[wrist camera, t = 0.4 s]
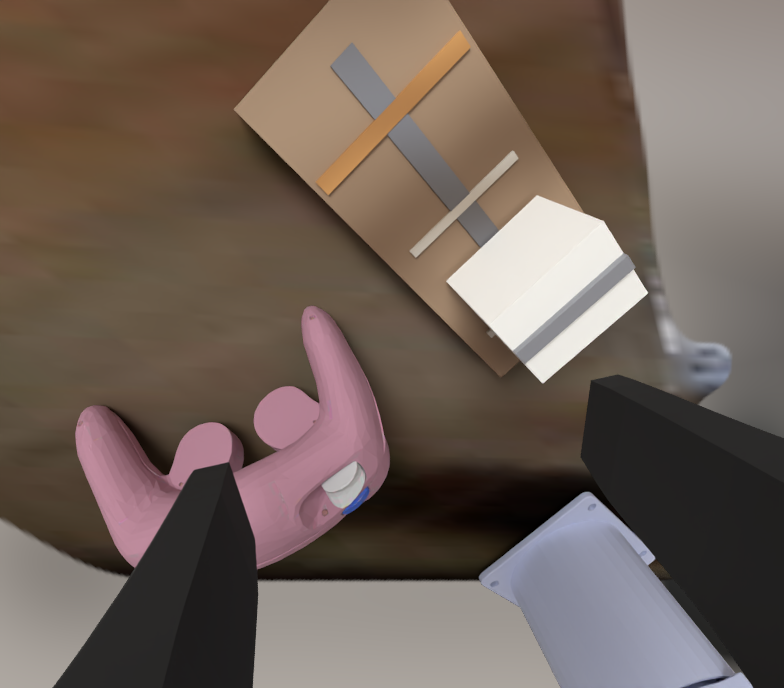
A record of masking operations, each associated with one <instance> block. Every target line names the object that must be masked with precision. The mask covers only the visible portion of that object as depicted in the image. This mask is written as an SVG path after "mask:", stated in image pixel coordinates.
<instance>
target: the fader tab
mask: <svg viewBox="0 0 784 688" xmlns="http://www.w3.org/2000/svg"><path fill="white" fill-rule="evenodd" d="M634 268H636V267H635V266H634V264H633V263H632V261H631V259H630V258H629V256H628V255H626V254H624V253H623V252H622V250H621V249H620V247H619V245H618V244H617V242H616V240H615V239H614V237H613V236H612V234H611V232H610V231H609V229H608V228H607V226H606V224H605V223H604V221H602V220H599V219H597V218H594V217H591V216H589V215H586V214H584V213H581V212H579V211H576V210H574V209H571V208H568V207H566V206H563V205H561V204H558V203H556V202H553V201H550V200H548V199H545V198H543V197H540V196H538V195H537V196H536V197H535V198H534V199H532V200H531V201H530V202H529V203H528V204H527V205H526V206H525V207H524V208H523V209H522V210H521V211H520V212H519V213H518V214H517V215H515V216H514V217H513V218H512V219H511V220H510V221H509V222H508V223H507V224H506V225H505V226H504V227H503V228H502V229H501V230H500V231H499V232H497V233H496V234H495V235H494V236H493V237H492V238H491V239H490V240H489V241H488V242H487V243H486V244H485V245H484V246H483V247H482V248H481V249H479V250H478V251H477V252H476V253H475V254H474V255H473V256H472V257H471V258H470V259H469V260H468V261H467V262H466V263H465V264H464V265H462V266H461V267H460V268H459V269H458V270H457V271H456V272H455V273H454V274H453V275H452V276H451V277H450V278H449V279H448V280H447V281H446V282H447V283H448V284H449V285H450V286H451V287H452V288H453V289H454V290H455V291H456V292H457V293H458V295H459V296H460V297H461V298H462V299H463V300H464V301H465V302H466V303H467V304H468V305H469V306H470V307H471V309H472V310H473V311H474V312H475V313H476V314H477V315H478V316H479V317H480V318H481V319H482V320H483V321H484V323H485V324H486V325H487V326H488V327H489V328H490V329H491V330H492V331H493V332H494V333H495V334H496V335H497V336H498V337H499V339H500V340H501V341H502V342H503V343H504V344H505V345H506V346H507V347H508V348H509V349H510V350H511V351H512V352H513V353H514V354H515V355H516V356H517V357H518V358H519V359H520V360H521V362H522V363H523V364H524V365H525V366H526V367H527V368H528V369H529V370H530V371H531V372H532V373H533V374H534V375H535V376H536V377H537V378H538V379H539V380H540V381H541V382H542V383H544V382H545V381H546V380H548V379H549V378H550V377H551V376H552V375H553V374H555V373H556V372H557V371H558V370H559V369H560V368H561V367H563V366H564V365H565V364H566V363H567V362H568V361H570V360H571V359H572V358H573V357H574V356H575V355H577V354H578V353H579V352H580V351H581V350H582V349H584V348H585V347H586V346H587V345H588V344H589V343H591V342H592V341H593V340H594V339H595V338H596V337H598V336H599V335H600V334H601V333H602V332H603V331H605V330H606V329H607V328H608V327H609V326H610V325H612V324H613V323H614V322H615V321H616V320H617V319H619V318H620V317H621V316H622V315H623V314H624V313H626V312H627V311H628V310H629V309H630V308H631V307H633V306H634V305H635V304H636V303H637V302H638V301H640V300H641V299H642V298H643V297H644V296H645V295H647V294H648V292H647V291H646V289H645V288H644V286H643V284H642V283H641V281H640V279H639V278H638V276H637V275H636V273H635V271H634V270H633V269H634Z"/></svg>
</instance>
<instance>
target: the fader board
mask: <svg viewBox="0 0 784 688" xmlns="http://www.w3.org/2000/svg"><path fill="white" fill-rule="evenodd" d="M234 110H235V111H236V112H237V113H238V114H239V115H240V116H241V117H242V118H243V119H244V120H245V121H246V122H247V123H248V124H249V125H250V126H251V127H252V128H253V129H254V130H255V131H256V132H257V133H258V134H259V135H260V137H261V138H262V139H263V140H264V141H265V142H266V143H267V144H268V145H269V146H270V147H271V148H272V149H273V150H274V151H275V152H276V153H277V154H278V155H279V156H280V157H281V158H282V159H283V160H284V161H285V162H286V163H287V164H288V165H289V166H290V167H291V168H292V169H293V170H294V171H295V172H296V173H297V174H298V175H299V176H300V177H301V178H302V179H303V180H304V181H305V182H306V183H307V184H308V185H309V186H310V187H311V188H312V189H313V190H314V191H315V192H316V193H317V194H318V195H319V196H320V197H321V198H322V199H323V200H324V201H325V202H326V203H327V204H328V205H329V206H330V207H331V208H332V209H333V210H334V211H335V212H336V213H337V214H338V215H339V216H340V217H341V218H342V219H343V220H344V221H345V222H346V223H347V224H348V225H349V226H350V227H351V228H352V229H353V230H354V231H355V232H356V233H357V234H358V235H359V236H360V237H361V238H362V239H363V240H364V241H365V242H366V243H367V244H368V245H369V246H370V247H371V248H372V249H373V250H374V251H375V252H376V253H377V254H378V255H379V256H380V257H381V258H382V259H383V260H384V261H385V262H386V263H387V264H388V265H389V266H390V267H391V268H392V269H393V270H394V271H395V272H396V273H397V274H398V275H399V276H400V277H401V278H402V279H403V280H404V281H405V282H406V283H407V284H408V285H409V286H410V287H411V288H412V289H413V290H414V291H415V292H416V293H417V294H418V295H419V296H420V297H421V298H422V299H423V300H424V301H425V302H426V303H427V304H428V305H429V306H430V307H431V308H432V309H433V310H434V311H435V312H436V313H437V314H438V315H439V316H440V317H441V318H442V319H443V320H444V321H445V322H446V323H447V324H448V325H449V326H450V327H451V328H452V329H453V330H454V331H455V332H456V333H457V334H458V335H459V336H460V337H461V338H462V339H463V340H464V341H465V342H466V343H467V344H468V345H469V346H470V347H471V348H472V349H473V350H474V351H475V352H476V353H477V354H478V355H479V356H480V357H481V358H482V359H483V360H484V361H485V362H486V363H487V364H488V365H489V366H490V367H491V368H492V369H493V370H494V371H495V372H496V373H497V374H498V375H499V376H500V377H502V376H503V375H504V374H506V373H507V372H508V371H509V370H510V369H511V368H512V367H514V366H515V365H516V364H517V363H518V362H519V361H520V359H519V358H518V357H517V356H516V355H515V354H514V353H513V352H512V351H511V350H510V349H509V348H508V347H507V346H506V345H505V344H504V343H503V342H502V341H501V340H500V339H499V337H498V336H497V335H496V334H495V333H494V332H493V331H492V330H491V329H490V328H489V327H488V326H487V325H486V324H485V323H484V321H483V320H482V319H481V318H480V317H479V316H478V315H477V314H476V313H475V312H474V311H473V310H472V309H471V307H470V306H469V305H468V304H467V303H466V302H465V301H464V300H463V299H462V298H461V297H460V296H459V295H458V293H457V292H456V291H455V290H454V289H453V288H452V287H451V286H450V285H449V284H448V283H447V282H446V281H447V280H448V279H449V278H450V277H451V276H452V275H453V274H454V273H455V272H456V271H457V270H458V269H459V268H460V267H461V266H462V265H464V264H465V263H466V262H467V261H468V260H469V259H470V258H471V257H472V256H473V255H474V254H475V253H476V252H477V251H478V250H479V249H481V248H482V247H483V246H484V245H485V244H486V243H487V242H488V241H489V240H490V239H491V238H492V237H493V236H494V235H495V234H496V233H497V232H499V231H500V230H501V229H502V228H503V227H504V226H505V225H506V224H507V223H508V222H509V221H510V220H511V219H512V218H513V217H514V216H515V215H517V214H518V213H519V212H520V211H521V210H522V209H523V208H524V207H525V206H526V205H527V204H528V203H529V202H530V201H531V200H532V199H534V198H535V197H536V196H537V195H538V196H540V197H543V198H545V199H548V200H550V201H553V202H556V203H558V204H561V205H563V206H566V207H568V208H571V209H574V210H576V211H579V212H581V213H584V212H583V211H582V209H581V208H580V206H579V204H578V203H577V201H576V200H575V198H574V197H573V195H572V193H571V192H570V190H569V189H568V187H567V186H566V184H565V183H564V181H563V179H562V178H561V176H560V175H559V173H558V172H557V170H556V168H555V167H554V165H553V164H552V162H551V161H550V159H549V157H548V156H547V154H546V153H545V151H544V150H543V148H542V146H541V145H540V143H539V142H538V140H537V139H536V137H535V135H534V134H533V132H532V131H531V129H530V128H529V126H528V124H527V123H526V121H525V120H524V118H523V117H522V115H521V113H520V112H519V110H518V109H517V107H516V106H515V104H514V102H513V101H512V99H511V98H510V96H509V95H508V93H507V92H506V90H505V88H504V87H503V85H502V84H501V82H500V81H499V79H498V77H497V76H496V74H495V73H494V71H493V70H492V68H491V66H490V65H489V63H488V62H487V60H486V59H485V57H484V55H483V54H482V52H481V51H480V49H479V48H478V46H477V44H476V43H475V41H474V40H473V38H472V37H471V35H470V33H469V32H468V30H467V29H466V27H465V26H464V24H463V22H462V21H461V19H460V18H459V16H458V15H457V13H456V11H455V10H454V8H453V7H452V5H451V4H450V2H449V1H448V0H330V1H329V2H328V3H327V4H326V5H325V6H324V8H323V9H322V10H321V11H320V12H319V13H318V14H317V15H316V17H315V18H314V19H313V20H312V21H311V22H310V23H309V25H308V26H307V27H306V28H305V29H304V30H303V31H302V32H301V34H300V35H299V36H298V37H297V38H296V39H295V40H294V42H293V43H292V44H291V45H290V46H289V47H288V48H287V49H286V51H285V52H284V53H283V54H282V55H281V56H280V57H279V59H278V60H277V61H276V62H275V63H274V64H273V65H272V66H271V68H270V69H269V70H268V71H267V72H266V73H265V74H264V76H263V77H262V78H261V79H260V80H259V81H258V82H257V83H256V85H255V86H254V87H253V88H252V89H251V90H250V91H249V93H248V94H247V95H246V96H245V97H244V98H243V99H242V101H241V102H240V103H239V104H238V105H237V106H236V107H235V108H234Z"/></svg>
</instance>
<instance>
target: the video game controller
mask: <svg viewBox="0 0 784 688" xmlns="http://www.w3.org/2000/svg"><path fill="white" fill-rule="evenodd" d="M301 327H302V335H303V343H304V347H305V350H306V353H307V356H308V359H309V362H310V365H311V368H312V371H313V374H314V377H315V380H316V384H317V390H318V395H319V403H318V402H316V401H314V400H313V399H311V398H310V397H309V396H307V395H306V394H305V393H304V392H303V391H301V390H300V389H298V388H296V387H292V386H286V387H281V388H278V389H276V390H274V391H272V392H271V393H269V394H268V395H267V396H266V397H265V398H264V399H263V400H262V401H261V402H260V403H259V405H258V407H257V409H256V411H255V415H254V426H255V430H256V432H257V434H258V436H259V437H260V438H261V439H262V440H263V441H264V442H265V443H266V444H268V445H269V446H271V447H272V448H273V449H275V450H276V451H277V452H276V453H274V454H272V455H269V456H267V457H265V458H263V459H261V460H259V461H257V462H255V463H253V464H251V465H249V466H246V467H244V468H242V465H243V461H244V449H243V445H242V443H241V441H240V439H239V438H238V437H237V436H236V435H235V434H234V433H233V432H231V431H230V429H228V428H227V427H225V426H223V425H222V424H220V423H214V422H209V423H204V424H201V425H198V426H196V427H194V428H193V429H191V430H190V431H188V433H187V434H186V435H185V436H184V437H183V439H182V440H181V441H180V444H179V446H178V449H177V451H176V455H175V459H174V462H173V465H172V468H171V470H170V473H169V474H168V475H164V474H162V473H161V472H160V471H159V470H158V469H157V468H156V467H155V466H154V465H153V464H152V463H151V462H150V461H149V459H148V457H147V456H146V454H145V452H144V451H143V449H142V447H141V446H140V444H139V443H138V441H137V439H136V438H135V436H134V434H133V433H132V432H131V431H130V429H129V428H128V427H127V426H126V425H125V423H124V422H123V421H122V420H121V419H120V418H119V417H118V416H117V415H116V414H115V413H114V412H112V411H110V410H109V408H108V407H105V406H99V405H94V406H90V407H88V408H86V409H85V410H84V411H83V412H82V413H81V415H80V417H79V420H78V423H77V427H76V432H75V435H76V446H77V453H78V457H79V459H80V462H81V464H82V467H83V470H84V472H85V475H86V477H87V480H88V482H89V484H90V486H91V489H92V491H93V493H94V496H95V498H96V500H97V503H98V505H99V508H100V510H101V512H102V515H103V517H104V520H105V522H106V524H107V527H108V529H109V532H110V534H111V536H112V538H113V541H114V543H115V545H116V547H117V548H118V550H119V552H120V553H121V554H122V556H123V557H124V558H125V559H126V560H127V561H128V563H130V564H131V565H132V566H133V567H136V566H137V564H138V562H139V561H140V559H141V558H142V556H143V554H144V553H145V551H146V550H147V548H148V546H149V545H150V543H151V541H152V540H153V538H154V536H155V535H156V533H157V531H158V530H159V528H160V526H161V525H162V523H163V521H164V520H165V518H166V516H167V514H168V513H169V511H170V509H171V507H172V506H173V504H174V502H175V500H176V499H177V497H178V495H179V493H180V492H181V490H182V488H183V486H184V485H185V483H186V481H187V479H188V478H189V476H190V475H191V473H192V472H193V471H194V470H196V469H200V468H204V467H209V466H213V465H218V464H222V463H227V462H229V463H230V466H231V469H232V472H233V475H234V478H235V481H236V484H237V487H238V490H239V493H240V496H241V499H242V502H243V504H244V507H245V510H246V513H247V516H248V519H249V522H250V525H251V528H252V531H253V534H254V537H255V544H256V561H257V569H260V568H262V567H265V566H267V565H270V564H272V563H274V562H277V561H279V560H281V559H283V558H285V557H287V556H289V555H290V554H292V553H294V552H296V551H298V550H300V549H301V548H303V547H305V546H306V545H308V544H309V543H311V542H312V541H314V540H316V539H317V538H319V537H320V536H321V535H323V534H324V533H325V532H327V531H328V530H329V529H331V528H332V527H334V526H335V525H336V524H337V523H338V522H339V521H340V520H341V519H343V518H344V517H345V516H346V515H347V514H348V513H350V512H352V511H354V510H355V509H357V508H358V507H359V506H360V505H361V504H362V503H363V502H365V501H366V500H368V499H369V498H371V497H372V496H373V495H374V494H375V493H376V492H377V491H378V489H379V488H380V487H381V485H382V484H383V482H384V480H385V478H386V476H387V473H388V470H389V466H390V454H389V447H388V444H387V441H386V438H385V436H384V432H383V427H382V423H381V418H380V414H379V411H378V407H377V404H376V401H375V398H374V395H373V393H372V390H371V388H370V385H369V382H368V380H367V378H366V376H365V374H364V372H363V370H362V368H361V366H360V364H359V363H358V361H357V359H356V357H355V355H354V354H353V352H352V350H351V348H350V346H349V345H348V343H347V341H346V339H345V338H344V336H343V334H342V332H341V330H340V329H339V327H338V326H337V324H336V323H335V321H334V320H333V319H332V318H331V317H330V315H328V314H327V313H326V312H325V311H323V310H322V309H320V308H318V307H316V306H309V307H307V308H306V309H304V312H303V315H302V322H301Z"/></svg>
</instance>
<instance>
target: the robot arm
mask: <svg viewBox="0 0 784 688" xmlns="http://www.w3.org/2000/svg"><path fill="white" fill-rule="evenodd" d="M581 458H582V460H583V462H584V463H585V465H586V467H587V468H588V470H589V471H590V473H591V475H592V476H593V478H594V480H595V481H596V483H597V484H598V486H599V487H600V489H601V490H602V492H603V493H604V495H605V496H606V498H607V499H608V501H609V502H610V503H611V504H612V506H613V507H614V508H615V509H616V511H617V512H618V513H619V514H620V515H621V517H622V518H623V519H624V520H625V522H626V523H627V524H628V525H629V526H630V528H631V529H632V530H633V531H634V533H635V534H636V535H637V536H638V537H639V538H638V537H637V536H636V535H635V534H634V533H633V532H632V531H631V530H630V529H629V528H628V527H627V526H626V525H625V524H624V523H623V522H622V521H620V520H619V519H618V518H617V517H616V516H615V515H614V514H613V513H612V512H611V511H610V510H609V509H608V508H607V507H606V506H605V505H604V504H603V503H601V502H600V501H599V500H598V499H597V498H596V497H595V496H594V495H593V494H592V493H590V492H584V493H582V494H580V495H579V496H577V497H576V498H575V499H574V500H572V501H571V502H570V503H569V504H567V505H566V506H565V507H564V508H562V509H561V510H560V511H559V512H557V513H556V514H555V515H553V516H552V517H551V518H550V519H548V520H547V521H546V522H545V523H543V524H542V525H541V526H540V527H538V528H537V529H536V530H535V531H533V532H532V533H531V534H530V535H528V536H527V537H526V538H525V539H523V540H522V541H521V542H520V543H518V544H517V545H516V546H515V547H513V548H512V549H511V550H509V551H508V552H507V553H506V554H504V555H503V556H502V557H501V558H499V559H498V560H497V561H496V562H494V563H493V564H492V565H491V566H489V567H488V568H487V569H486V570H484V571H483V572H482V573H481V574H480V576H479V580H480V582H481V584H482V585H483V586H484V587H486V588H488V589H490V590H491V591H493V592H495V593H496V594H498V595H500V596H501V597H503V598H505V599H507V600H508V601H510V602H512V603H513V604H515V605H517V606H519V607H520V608H521V610H522V612H523V614H524V616H525V618H526V620H527V622H528V624H529V626H530V628H531V630H532V632H533V634H534V636H535V638H536V640H537V642H538V644H539V646H540V648H541V650H542V651H543V654H544V656H545V658H546V659H547V661H548V664H549V665H550V667H551V670H552V672H553V673H554V676H555V677H556V679H557V681H558V684H559V686H560V687H561V688H784V438H781V437H779V436H776V435H773V434H771V433H768V432H765V431H763V430H760V429H757V428H755V427H752V426H750V425H747V424H744V423H742V422H739V421H737V420H734V419H732V418H729V417H726V416H724V415H721V414H719V413H716V412H714V411H711V410H709V409H706V408H704V407H702V406H699V405H697V404H694V403H692V402H689V401H687V400H684V399H682V398H679V397H677V396H674V395H672V394H669V393H667V392H664V391H662V390H659V389H657V388H654V387H652V386H649V385H646V384H644V383H641V382H638V381H636V380H633V379H630V378H627V377H624V376H621V375H614V376H609V377H605V378H600V379H596V380H591V385H590V392H589V399H588V406H587V414H586V421H585V428H584V436H583V443H582V450H581ZM655 558H656V559H657V560H658V561H659V562H660V564H661V565H662V566H663V567H664V568H665V570H666V571H667V572H668V573H669V574H670V576H671V577H672V578H673V579H674V580H675V581H676V583H677V584H678V585H679V586H680V587H681V589H682V590H683V591H684V592H685V594H686V595H687V596H688V597H689V598H690V600H691V601H692V602H693V603H694V605H695V606H696V607H697V609H698V610H699V611H700V612H701V614H702V615H703V616H704V618H705V619H706V620H707V622H708V623H709V624H710V626H711V627H712V629H713V630H714V631H715V633H716V634H717V636H718V637H719V639H720V640H721V642H722V643H723V644H724V646H725V647H726V649H727V650H728V651H729V653H730V654H731V656H732V657H733V659H734V660H735V661H736V663H737V664H738V666H739V667H740V669H741V670H742V671H743V673H744V674H745V676H746V677H747V679H748V680H749V681H748V680H747V679H746V677H745V676H744V675H743V673H741V672H738V673H736V674H735V673H734V672H733V670H732V669H731V668H730V666H729V665H728V664H727V663H726V661H725V660H724V659H723V658H722V657H721V655H720V654H719V653H718V652H717V650H716V649H715V648H714V647H713V646H712V644H711V643H710V642H709V641H708V639H707V638H706V637H705V636H704V634H703V633H702V632H701V631H700V629H699V628H698V627H697V626H696V625H695V623H694V622H693V621H692V620H691V618H690V617H689V616H688V615H687V613H686V612H685V611H684V610H683V609H682V607H681V606H680V605H679V604H678V602H677V601H676V600H675V599H674V598H673V596H672V595H671V594H670V593H669V591H668V590H667V589H666V588H665V586H664V585H663V584H662V583H661V581H660V580H659V579H658V578H657V577H656V575H655V574H654V573H653V572H652V570H651V569H650V568H649V567H648V565H649V564H650V563H651V562H652V561H654V559H655ZM257 605H258V582H257V561H256V544H255V537H254V534H253V531H252V528H251V525H250V522H249V519H248V516H247V513H246V510H245V507H244V504H243V502H242V499H241V496H240V493H239V490H238V487H237V484H236V481H235V478H234V475H233V472H232V469H231V466H230V463H229V462H227V463H222V464H218V465H213V466H209V467H204V468H200V469H196V470H194V471H193V472H192V473H191V475H190V476H189V478H188V479H187V481H186V483H185V485H184V486H183V488H182V490H181V492H180V493H179V495H178V497H177V499H176V500H175V502H174V504H173V506H172V507H171V509H170V511H169V513H168V514H167V516H166V518H165V520H164V521H163V523H162V525H161V526H160V528H159V530H158V531H157V533H156V535H155V536H154V538H153V540H152V541H151V543H150V545H149V546H148V548H147V550H146V551H145V553H144V554H143V556H142V558H141V559H140V561H139V562H138V564H137V566H136V567H135V569H134V570H133V572H132V574H131V575H130V577H129V579H128V580H127V582H126V583H125V585H124V586H123V588H122V589H121V591H120V593H119V594H118V596H117V597H116V598H115V600H114V601H113V603H112V604H111V606H110V607H109V609H108V610H107V612H106V613H105V615H104V616H103V618H102V619H101V620H100V622H99V624H98V625H97V627H96V628H95V630H94V631H93V632H92V634H91V635H90V637H89V638H88V640H87V641H86V643H85V644H84V646H83V647H82V648H81V650H80V651H79V653H78V654H77V655H76V657H75V658H74V660H73V661H72V662H71V664H70V665H69V666H68V668H67V669H66V670H65V672H64V673H63V675H62V676H61V677H60V679H59V680H58V681H57V683H56V684H55V685H54V687H53V688H253V672H254V656H255V639H256V623H257Z"/></svg>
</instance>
